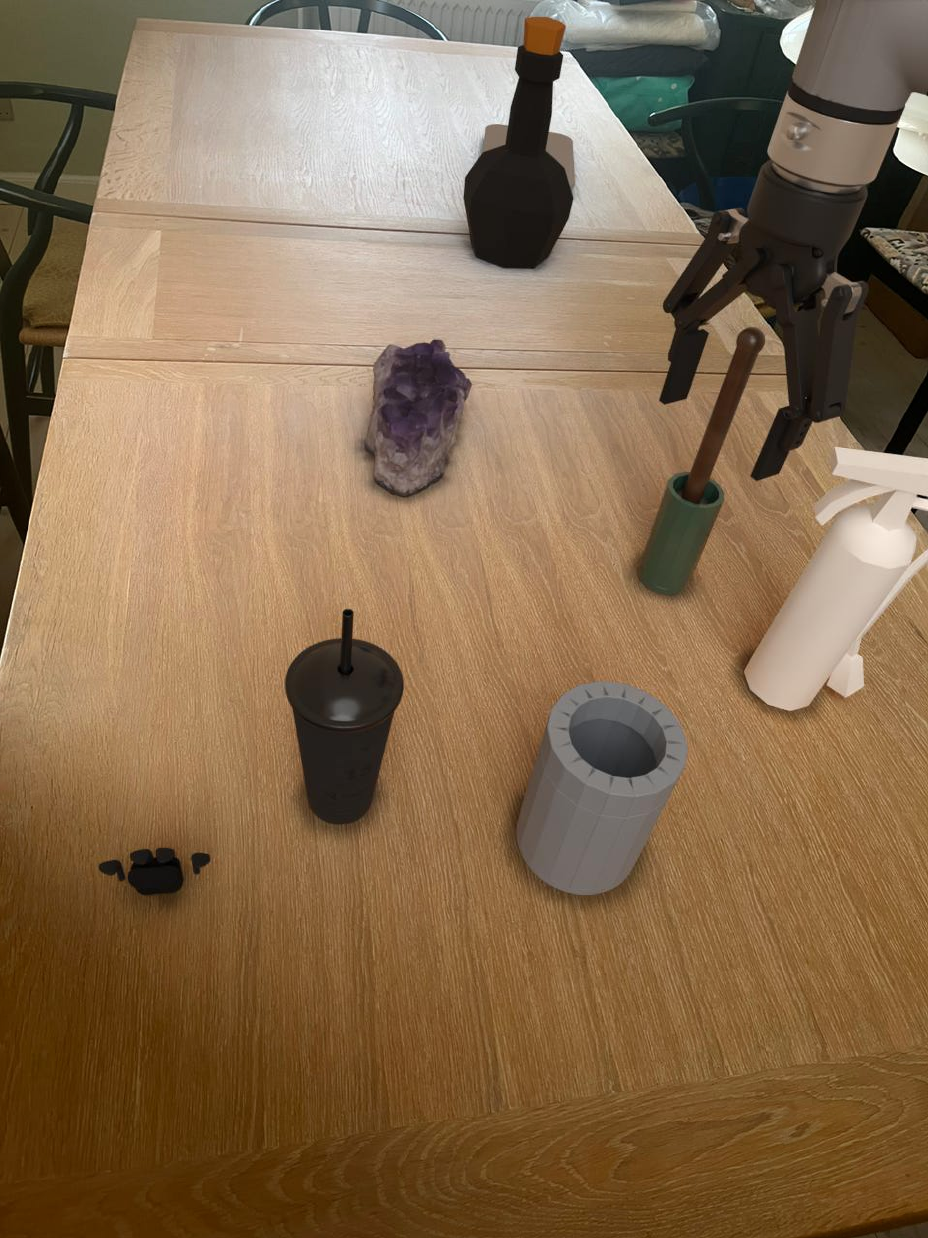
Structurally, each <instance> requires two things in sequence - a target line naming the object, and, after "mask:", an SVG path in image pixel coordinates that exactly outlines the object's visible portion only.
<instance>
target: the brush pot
mask: <svg viewBox="0 0 928 1238" xmlns="http://www.w3.org/2000/svg"><path fill="white" fill-rule="evenodd" d="M689 474H690V471H682V472H676V473H675V474H673V475H672V476H671V477H669V478H668V480H667V483H666V485H665V488H664V491H663V494H662V496H661V500H660V502H659V506H658V508H657V511H656V514H655V517H654V519H653V522H652V525H651V528H650V531H649V534H648V537H647V538H646V541H645V545H644V548H643V550H642V554H641V557H640V560H639V563H638V566H637V571H636V573H637V574H636V575H637V577H638V579H639V582H641V584H642V585H643V586H645V588H646V589H648V590H650V591H652V592H654V593H657V594H660V595H664V596H676V595H679V594H681V593H683V592H685V591H687V589H688V588H689V585H690V583H691V581H692V579H693V577H694V574H695V573H696V570H697V566H698V564H699V562H700V560H701V557H702V555H703V552H704V550H705V547H706V545H707V543H708V540H709V539H710V536H711V533H712V531H713V528H714V525H715V523H716V521H717V518H718V516H719V514H720V511H721V509H722V507H723V504H724V502H725V491H724V489H723V487H722V486H721V485H720V484H719V483H718V482H717V481H715V480H714V479H712V478H711V477H710V479H709V481H708V484H707V486H706V489H705V492H704V494H703V496H704V497H705V498H706V500H707V503H708V504H707V505H702V504H694V503H692V502H689V501H686V500H684V499H683V498H682V497H680V496H679V495H678V494H677V493H676V491H678V490H681V489H684V487H685V485H686V482H687V479H688V477H689Z"/></svg>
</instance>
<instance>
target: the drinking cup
mask: <svg viewBox="0 0 928 1238" xmlns="http://www.w3.org/2000/svg"><path fill="white" fill-rule="evenodd" d="M341 615H342V616H341V637H337V638H329V639H325V640H321V641H319V642H316V643H314V644H312V645H310V646H308V647H306V648H305V649H303V650H301V652H300V653H299V654H298V655H296V656H295V657H294V658H293V660H292V662H290V665H289V667H288V668H287V670H286V674H285V679H284V680H285V681H284V690H285V691H284V692H285V695H286V699H287V701H288V703H289V705H290V707H291V709H292V713H293V720H294V725H295V733H296V736H297V738H296V739H297V743H298V750H299V756H300V761H301V767H302V773H303V779H304V783H305V785H304V786H305V791H306V797H307V802H308V806H309V809H310V810H311V811H312V813H313V814H314V815H315V816H316V817H317V818H318V819H320V820H321V821H323V822H325V823H328V824H331V825H347V824H351V823H354V822H356V821H358V820H360V819H361V818H362V817H364V816H365V815H366V814H367V812H368V810H370V807H371V806H372V802H373V799H374V795H375V791H376V786H377V782H378V779H379V775H380V771H381V767H382V763H383V759H384V755H385V750H386V747H387V743H388V739H389V734H390V730H391V726H392V724H393V723H392V722H393V719H394V715H395V711H396V710H398V707H399V705H400V704H401V701H402V698H403V695H404V689H405V684H404V683H405V681H404V675H403V672H402V669H401V668H400V665H399V664H398V662H397V661H396V660H395V659H394V657H393V656H391V654H390V653H388V652H387V651H386V650H385V649H384V648H382V647H380V646H378V645H376V644H374V643H372V642H369V641H367V640H362V639H358V638H353V635H354V617H355V612H354V610H353V609H352V608H345V609H343V610H342V613H341Z"/></svg>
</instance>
